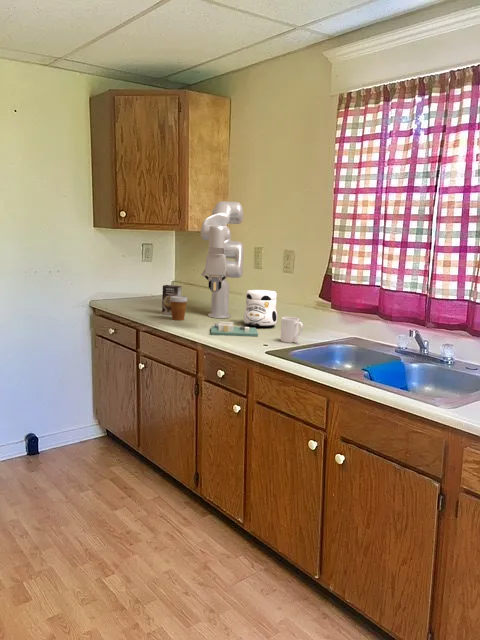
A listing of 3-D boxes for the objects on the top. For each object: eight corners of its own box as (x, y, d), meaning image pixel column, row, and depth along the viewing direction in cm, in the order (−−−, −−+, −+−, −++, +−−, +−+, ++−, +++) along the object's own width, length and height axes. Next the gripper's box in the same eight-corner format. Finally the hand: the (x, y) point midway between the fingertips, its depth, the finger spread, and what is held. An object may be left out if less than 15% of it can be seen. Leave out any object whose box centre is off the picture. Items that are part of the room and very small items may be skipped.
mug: (276, 340, 258) (278, 317, 256) (290, 338, 262) (291, 316, 261) (294, 345, 248) (295, 321, 246) (307, 343, 253) (309, 320, 251)
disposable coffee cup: (171, 321, 293) (172, 298, 291) (167, 318, 302) (167, 295, 300) (189, 320, 297) (190, 298, 295) (184, 317, 305) (184, 295, 303)
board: (211, 328, 278) (211, 320, 278) (255, 330, 279) (256, 321, 279) (210, 334, 263) (211, 326, 262) (257, 336, 263) (258, 327, 263)
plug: (211, 290, 276) (211, 275, 275) (218, 290, 276) (219, 276, 275) (210, 291, 270) (211, 276, 269) (218, 291, 270) (218, 277, 269)
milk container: (247, 329, 281) (248, 293, 278) (240, 322, 298) (241, 289, 295) (280, 329, 285) (282, 294, 281) (272, 323, 301) (273, 289, 298)
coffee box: (161, 314, 313) (162, 285, 310) (165, 312, 319) (166, 284, 316) (176, 315, 311) (177, 286, 308) (180, 314, 317) (181, 285, 314)
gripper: (233, 252, 274) (231, 289, 277) (199, 250, 274) (198, 288, 277) (233, 252, 267) (231, 291, 270) (198, 251, 266) (197, 289, 269)
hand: (214, 289), depth 273 cm, fingers closed on plug, 3 cm apart
